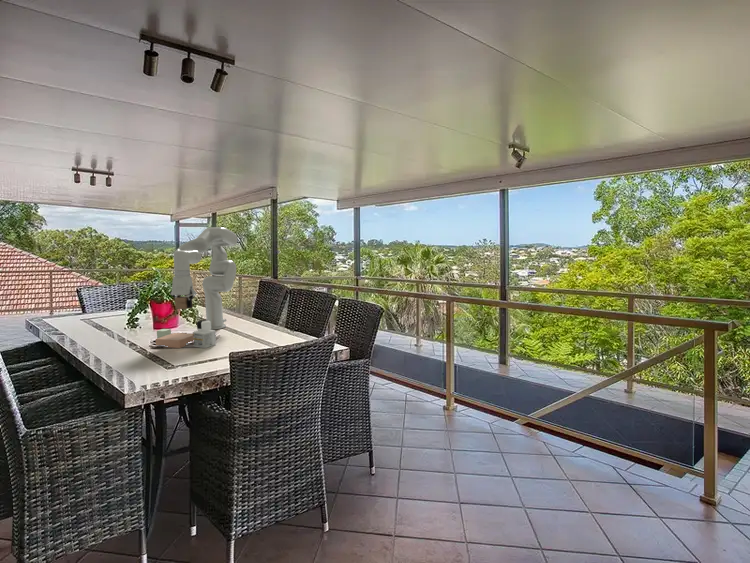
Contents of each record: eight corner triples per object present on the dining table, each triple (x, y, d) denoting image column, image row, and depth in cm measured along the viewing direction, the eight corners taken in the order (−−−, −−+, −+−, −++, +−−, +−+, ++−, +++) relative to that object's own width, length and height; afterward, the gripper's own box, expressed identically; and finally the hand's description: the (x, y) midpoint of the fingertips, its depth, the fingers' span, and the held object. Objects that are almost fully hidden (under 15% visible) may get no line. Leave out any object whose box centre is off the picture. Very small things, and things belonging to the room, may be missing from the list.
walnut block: (182, 307, 240) (182, 296, 239) (192, 307, 238) (192, 296, 238) (175, 308, 234) (175, 297, 233) (185, 309, 233) (184, 298, 232)
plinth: (174, 340, 237) (174, 332, 237) (197, 341, 234) (196, 333, 233) (156, 346, 223) (155, 338, 223) (179, 347, 220) (179, 340, 220)
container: (193, 346, 222) (192, 321, 221) (205, 343, 229) (204, 318, 228) (204, 348, 219) (202, 322, 217) (216, 344, 226) (215, 320, 224)
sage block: (163, 337, 244) (163, 328, 243) (171, 338, 243) (170, 329, 242) (157, 339, 239) (156, 330, 238) (165, 340, 238) (164, 331, 237)
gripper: (163, 274, 233) (165, 307, 235) (192, 274, 229) (193, 308, 230) (173, 273, 240) (174, 305, 242) (200, 273, 236) (202, 306, 238)
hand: (184, 306), depth 236 cm, fingers closed on walnut block, 6 cm apart
